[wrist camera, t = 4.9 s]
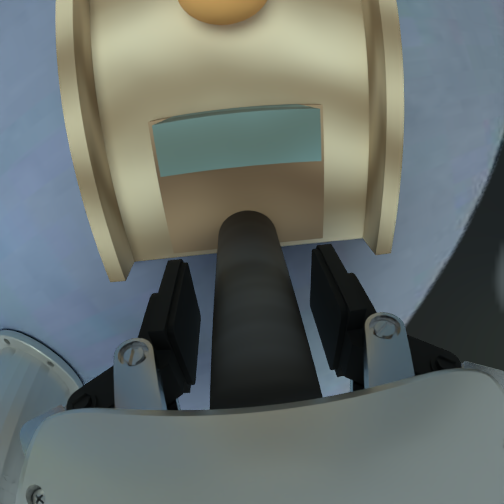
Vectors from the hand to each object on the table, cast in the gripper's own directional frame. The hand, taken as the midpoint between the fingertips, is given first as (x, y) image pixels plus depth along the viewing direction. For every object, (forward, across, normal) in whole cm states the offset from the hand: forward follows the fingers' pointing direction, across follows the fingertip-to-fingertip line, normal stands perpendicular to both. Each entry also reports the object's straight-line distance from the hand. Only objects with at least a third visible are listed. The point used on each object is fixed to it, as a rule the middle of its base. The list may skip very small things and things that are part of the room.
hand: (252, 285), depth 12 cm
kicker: (+5, 0, -3) cm, 6 cm away
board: (+6, 0, -14) cm, 15 cm away
